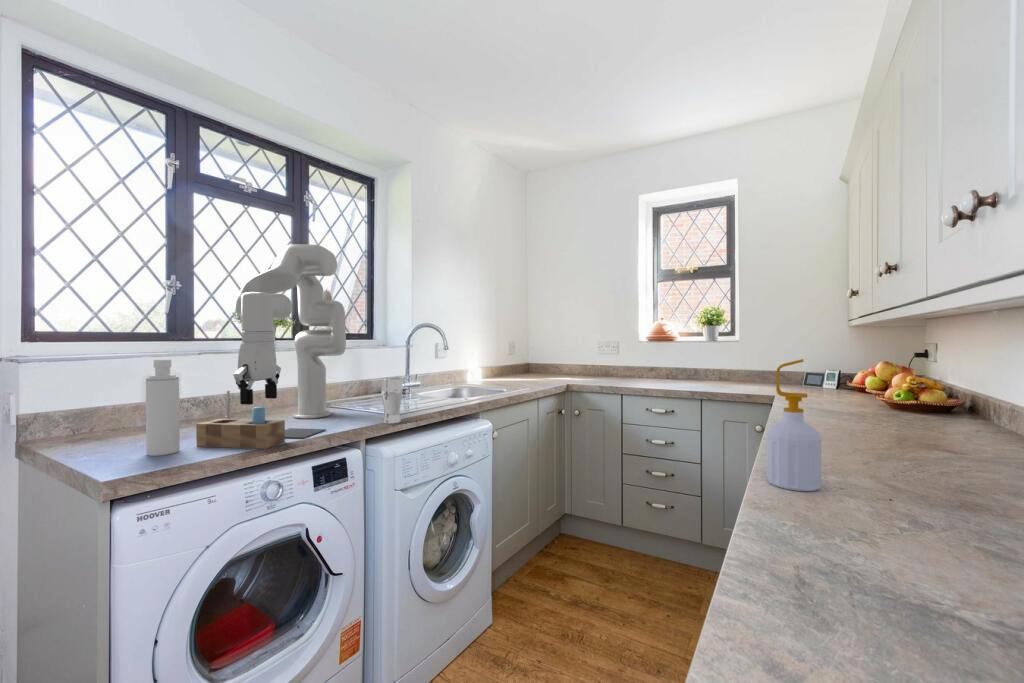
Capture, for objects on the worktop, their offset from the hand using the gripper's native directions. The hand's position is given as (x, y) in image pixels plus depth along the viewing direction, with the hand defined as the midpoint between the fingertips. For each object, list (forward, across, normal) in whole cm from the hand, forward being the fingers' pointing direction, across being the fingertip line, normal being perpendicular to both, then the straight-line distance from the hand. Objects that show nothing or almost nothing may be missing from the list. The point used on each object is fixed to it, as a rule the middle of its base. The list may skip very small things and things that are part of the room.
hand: (259, 401), depth 125 cm
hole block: (+12, +1, -5) cm, 13 cm away
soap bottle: (+10, +19, +127) cm, 129 cm away
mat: (+12, -13, +2) cm, 18 cm away
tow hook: (+13, -15, -20) cm, 28 cm away
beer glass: (+13, -35, +23) cm, 44 cm away
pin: (+12, +1, 0) cm, 12 cm away
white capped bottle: (+12, +12, -18) cm, 24 cm away
